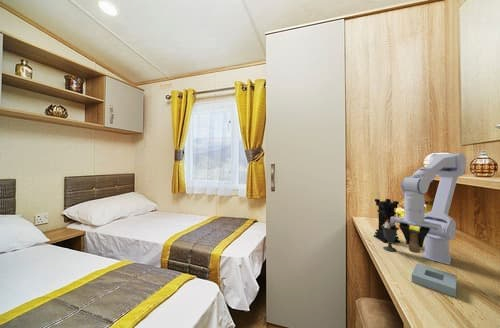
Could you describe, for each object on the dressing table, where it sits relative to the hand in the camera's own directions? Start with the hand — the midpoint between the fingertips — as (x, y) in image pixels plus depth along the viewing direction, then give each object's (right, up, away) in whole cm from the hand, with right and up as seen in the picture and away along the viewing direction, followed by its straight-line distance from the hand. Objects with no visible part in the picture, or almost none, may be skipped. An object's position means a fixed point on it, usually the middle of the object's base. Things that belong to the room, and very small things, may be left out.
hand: (414, 245), depth 73 cm
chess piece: (+7, -8, +25) cm, 28 cm away
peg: (0, -2, 0) cm, 2 cm away
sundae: (+1, -8, +14) cm, 17 cm away
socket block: (-2, -8, -9) cm, 13 cm away
